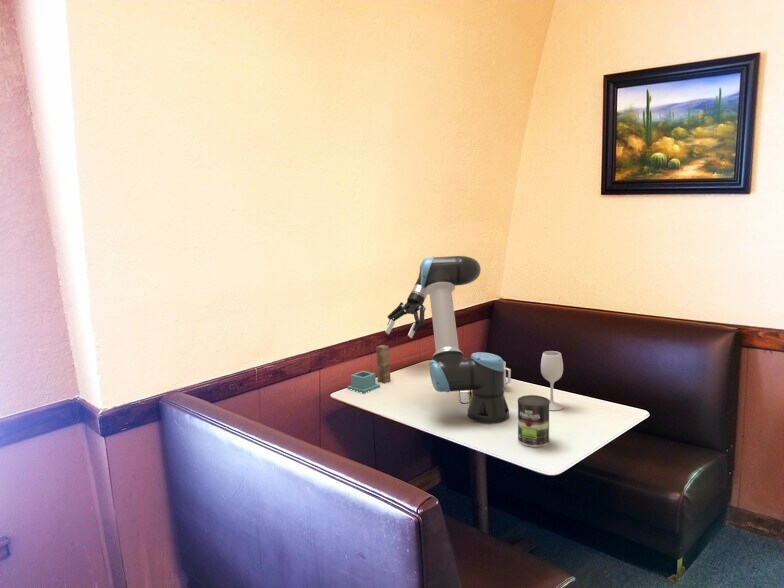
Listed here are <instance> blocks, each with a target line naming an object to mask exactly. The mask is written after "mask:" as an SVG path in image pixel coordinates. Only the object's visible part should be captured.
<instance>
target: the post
mask: <svg viewBox="0 0 784 588" xmlns="http://www.w3.org/2000/svg"><path fill="white" fill-rule="evenodd" d="M375 349H376V350H375V352H376V367H377V382H378V383H381V382H382V383H381V384H387V383H389V382H391V380H392V379H391V363H390V362H391V357H390V346H389V345H384V344H380V345H378V346H376V347H375ZM386 382H387V383H386Z"/></svg>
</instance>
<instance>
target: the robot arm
mask: <svg viewBox="0 0 784 588" xmlns="http://www.w3.org/2000/svg"><path fill="white" fill-rule="evenodd" d="M480 275H481V265H480V263H479V261H478V260H476V259H475V258H473V257H469V256H466V255H455V256H454V255H452V256H436V257H435V256H432V257H425V258H424V259H423V260H422V261H421V262H420V266H419V273H418V276H417V277H418V278H417V280H416V282H415V283H414V286H413V287H412V289H411V291H410V294H409V295H408V297H407V301H406V303H403V301H402V302H400V303H399V304H398V305H397V306H396V308H395V309H393V310H392V312H390V313H389V314H388V315H387V318H388V322H387V324H386V328H385V330H384V332H385V333H386V334H387V335H390V333H391V332H392V330H393V328H394V326H395V324H396V322H395V321H397V320H398V319H400V318H402V317H403V316H405V315H407V314H408V315H413V318H414V321H415V322H413V324H412V325H411V327H410V329H409V332H408V334H407V336H408V337H409V338H410V339H413V336H414V334H415V333H416V332H417V331H418V329H419V327H420V326H424V325H425V312H426V307H425V306H424V303H425V300H426V299H427V297H428V295H429V299H430V309H431V320H432V329H433V337H434V348H435V352H434V354H433V355H432V357H431V360H430V361H429V362H428V370H429V376H430V380H431V384H432V386H433V389H434V390H435V392H439V393H441V392H442V393H443V392H445V393H451V392H461V391H462V392H463V391H471V398H470V401H469V405H468V407H467V417H468V419H469V420H472V421H474V422H477V423H481V424H483V423H484V424H498V423H501V422H504V421H506V420H508V419H510V418H509V417H510V410H509V407H508V404H507V401H506V397H505V388H504V365H503V361H504V360H503V358H502V357H501V356H499V355H497V354H493V353H490V352H484V351H483V352H482V351H481V352H478V351H477V352H472V353H471V355H470V358H465V356H464V355H465V354H464V352H463V351H462V350H460V348H459V340H458V333H457V325H456V324H457V323H456V315H455V310H454V309H455V307H454V301H453V300H454V299H453V292H454V291H455V289H456V286H464V285H465V286H466V285H469V284H470V283H473V282H475V281H476V280H477V279H478V278H479V277H480ZM418 311H419V312H418Z"/></svg>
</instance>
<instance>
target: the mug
mask: <svg viewBox="0 0 784 588" xmlns="http://www.w3.org/2000/svg"><path fill="white" fill-rule="evenodd" d="M503 365H504V389H505V388H506V386H507V385H508V384H509V383H511V374H512V373H511V372H512V370H511V368H508V367H506V361H504V360H503ZM506 371H507V372H506Z"/></svg>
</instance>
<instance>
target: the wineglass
mask: <svg viewBox="0 0 784 588" xmlns="http://www.w3.org/2000/svg"><path fill="white" fill-rule="evenodd" d="M563 361H564V360H563V356H562V353H561V352H559V351H554V350H548V351H547V350H546V351H543V352H542V355H541V360H540V374H541V375H542V377H543V379H545V380H546V381H547V382H549V385H550V386H549V387H550V397H549V400H550V404H549V411H561V410H563V409H564V408H565V406H564V405H563V404H562V403H560V402H557V401H555V400H554V384H555V382H557V381H559V380H560V379H561V378H562V377H563V376H562V375H563V373H564V362H563Z"/></svg>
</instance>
